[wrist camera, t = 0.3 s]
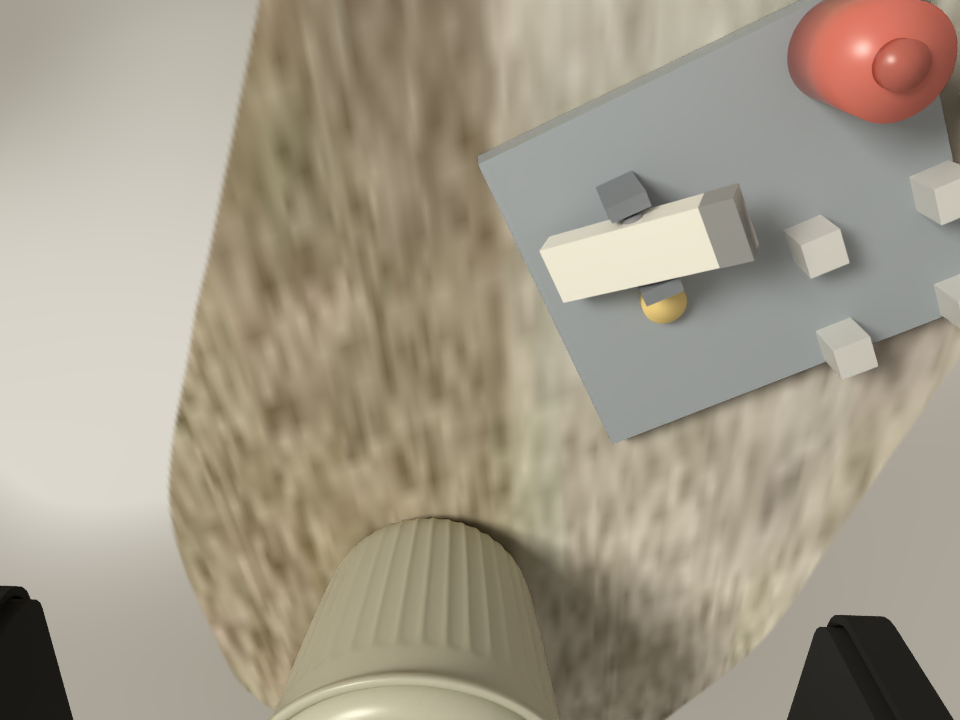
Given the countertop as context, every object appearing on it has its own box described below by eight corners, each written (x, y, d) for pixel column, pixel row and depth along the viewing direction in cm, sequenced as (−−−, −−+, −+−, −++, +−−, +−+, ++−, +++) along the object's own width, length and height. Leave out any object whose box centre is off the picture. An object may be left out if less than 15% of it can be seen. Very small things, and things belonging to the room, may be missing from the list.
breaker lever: (547, 233, 41) (537, 247, 40) (737, 179, 35) (731, 194, 34) (574, 290, 42) (564, 306, 41) (760, 247, 37) (755, 264, 36)
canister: (588, 501, 52) (647, 803, 34) (524, 684, 60) (542, 1010, 42) (321, 452, 51) (224, 741, 32) (291, 647, 59) (201, 969, 40)
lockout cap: (775, 23, 37) (832, 35, 31) (876, -26, 36) (956, -23, 30) (801, 117, 39) (860, 146, 33) (899, 73, 38) (977, 95, 32)
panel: (478, 155, 42) (477, 184, 36) (891, -45, 37) (959, -46, 32) (607, 426, 50) (622, 483, 44) (961, 288, 45) (1026, 332, 40)
